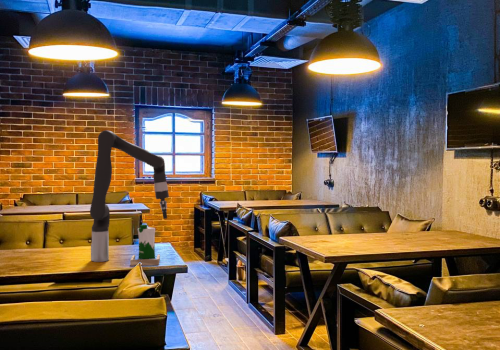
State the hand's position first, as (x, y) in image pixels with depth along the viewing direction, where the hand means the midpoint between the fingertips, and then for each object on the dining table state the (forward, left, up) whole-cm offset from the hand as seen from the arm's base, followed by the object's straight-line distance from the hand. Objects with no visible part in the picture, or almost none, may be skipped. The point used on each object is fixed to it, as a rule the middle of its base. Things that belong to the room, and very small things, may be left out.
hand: (165, 217), depth 285 cm
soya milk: (-13, -1, -25) cm, 28 cm away
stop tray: (-6, -10, -25) cm, 27 cm away
